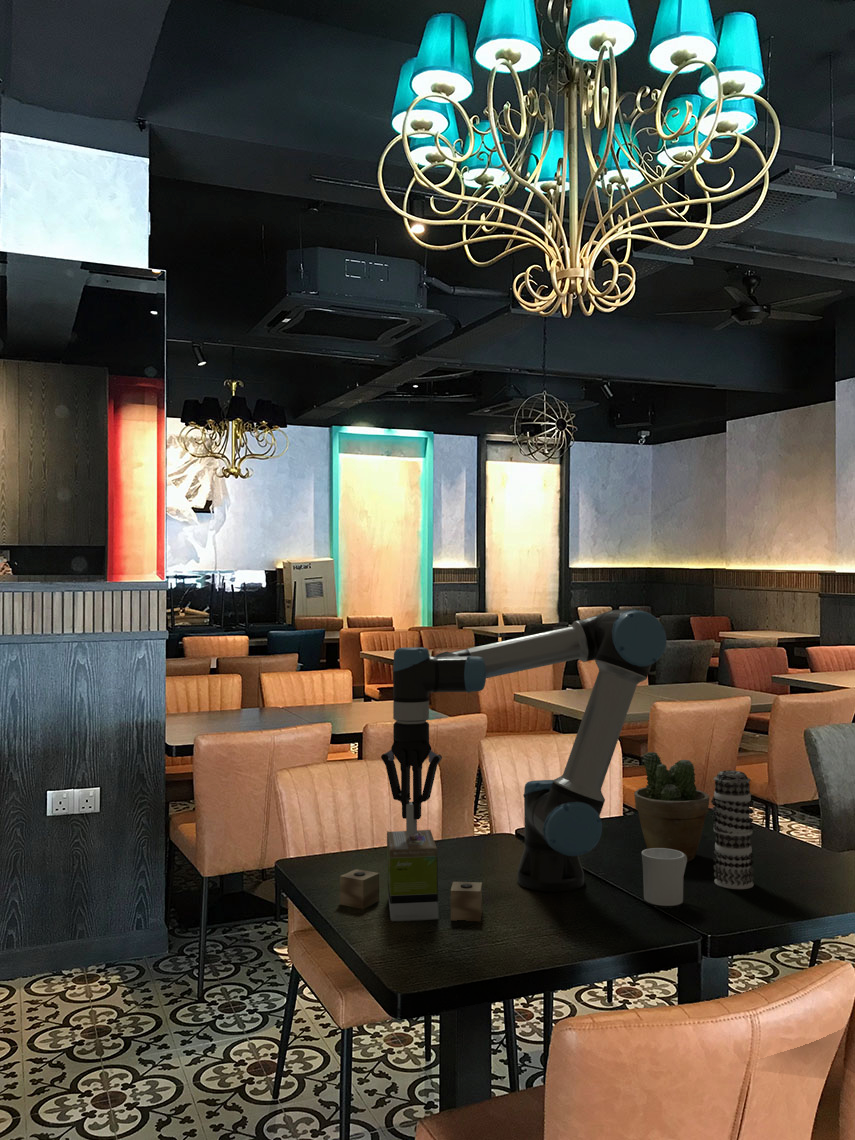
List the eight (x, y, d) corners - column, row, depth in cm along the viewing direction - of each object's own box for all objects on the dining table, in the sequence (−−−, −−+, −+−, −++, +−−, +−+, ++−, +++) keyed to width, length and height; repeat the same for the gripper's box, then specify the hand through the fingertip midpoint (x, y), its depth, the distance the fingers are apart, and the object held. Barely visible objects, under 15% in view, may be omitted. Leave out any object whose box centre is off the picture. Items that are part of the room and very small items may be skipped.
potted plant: (719, 852, 238) (718, 753, 239) (698, 870, 223) (696, 764, 223) (649, 842, 248) (648, 747, 249) (624, 859, 232) (622, 758, 233)
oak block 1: (379, 901, 201) (379, 872, 201) (363, 909, 196) (363, 879, 196) (356, 896, 204) (356, 868, 204) (339, 904, 199) (339, 875, 199)
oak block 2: (482, 911, 194) (481, 881, 194) (480, 921, 188) (480, 890, 188) (453, 910, 195) (453, 880, 195) (450, 920, 189) (450, 889, 189)
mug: (661, 911, 193) (660, 861, 194) (633, 899, 201) (632, 851, 202) (701, 903, 198) (700, 854, 199) (672, 892, 206) (671, 844, 207)
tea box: (386, 898, 203) (386, 829, 203) (432, 897, 204) (432, 828, 204) (389, 922, 188) (389, 847, 188) (439, 920, 189) (439, 846, 189)
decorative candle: (710, 887, 210) (708, 774, 210) (714, 875, 218) (712, 767, 219) (753, 891, 206) (751, 777, 207) (756, 880, 215) (754, 770, 216)
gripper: (445, 719, 199) (446, 832, 198) (387, 718, 202) (387, 828, 202) (436, 724, 192) (436, 841, 191) (375, 722, 195) (376, 836, 195)
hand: (411, 834), depth 196 cm, fingers closed
